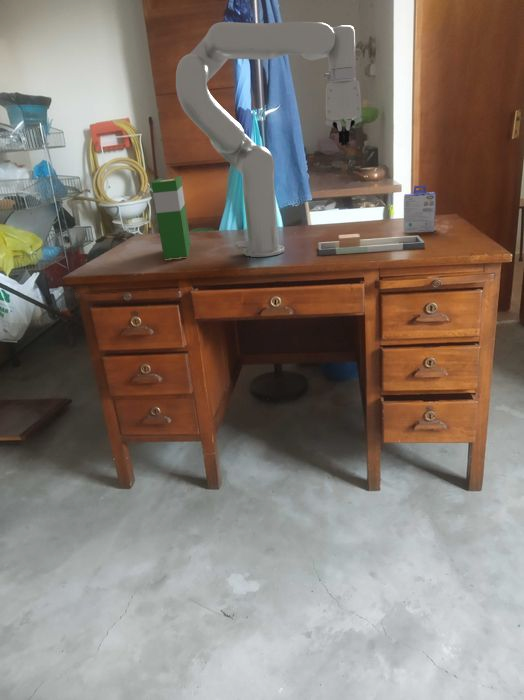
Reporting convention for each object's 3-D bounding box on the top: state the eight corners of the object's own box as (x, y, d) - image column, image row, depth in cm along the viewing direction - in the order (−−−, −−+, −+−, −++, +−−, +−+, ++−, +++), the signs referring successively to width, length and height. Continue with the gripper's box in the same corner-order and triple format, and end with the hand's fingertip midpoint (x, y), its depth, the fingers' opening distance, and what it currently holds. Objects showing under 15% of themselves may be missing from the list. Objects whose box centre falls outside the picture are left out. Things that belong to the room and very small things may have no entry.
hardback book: (170, 249, 182) (158, 178, 172) (191, 247, 182) (180, 176, 172) (164, 260, 165) (151, 182, 156) (187, 258, 165) (175, 180, 156)
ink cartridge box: (434, 229, 172) (436, 184, 166) (435, 232, 167) (436, 186, 161) (403, 230, 174) (404, 186, 169) (403, 234, 170) (404, 188, 164)
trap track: (318, 256, 151) (318, 249, 150) (318, 249, 160) (318, 242, 159) (424, 249, 147) (424, 242, 147) (418, 242, 156) (418, 235, 156)
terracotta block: (339, 251, 152) (339, 238, 151) (339, 248, 157) (338, 235, 155) (360, 250, 152) (360, 236, 150) (359, 246, 156) (358, 233, 155)
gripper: (316, 78, 145) (319, 148, 153) (369, 72, 144) (370, 143, 151) (316, 80, 152) (319, 147, 159) (367, 75, 150) (368, 142, 158)
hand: (344, 145), depth 155 cm, fingers closed
